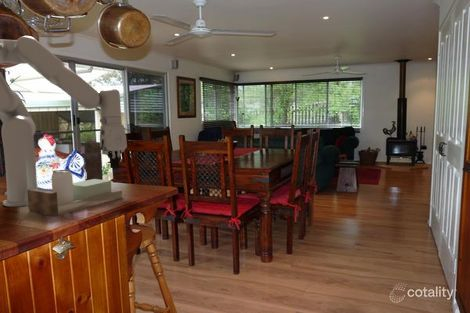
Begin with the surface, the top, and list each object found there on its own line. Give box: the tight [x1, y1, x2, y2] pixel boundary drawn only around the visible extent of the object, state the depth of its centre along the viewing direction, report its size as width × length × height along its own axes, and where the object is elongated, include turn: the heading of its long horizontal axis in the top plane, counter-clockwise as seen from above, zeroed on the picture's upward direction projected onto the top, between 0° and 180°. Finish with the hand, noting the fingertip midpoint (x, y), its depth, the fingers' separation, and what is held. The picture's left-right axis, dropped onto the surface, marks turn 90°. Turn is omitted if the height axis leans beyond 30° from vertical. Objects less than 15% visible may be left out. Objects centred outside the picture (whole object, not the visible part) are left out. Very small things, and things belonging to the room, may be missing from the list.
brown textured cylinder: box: [83, 140, 104, 181], centre depth 167 cm, size 8×7×20 cm
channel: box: [27, 188, 123, 218], centre depth 132 cm, size 12×30×8 cm, turn 152°
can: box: [51, 169, 74, 205], centre depth 126 cm, size 6×6×12 cm
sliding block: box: [73, 179, 112, 201], centre depth 137 cm, size 9×12×6 cm
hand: (114, 167), depth 146 cm, fingers closed
